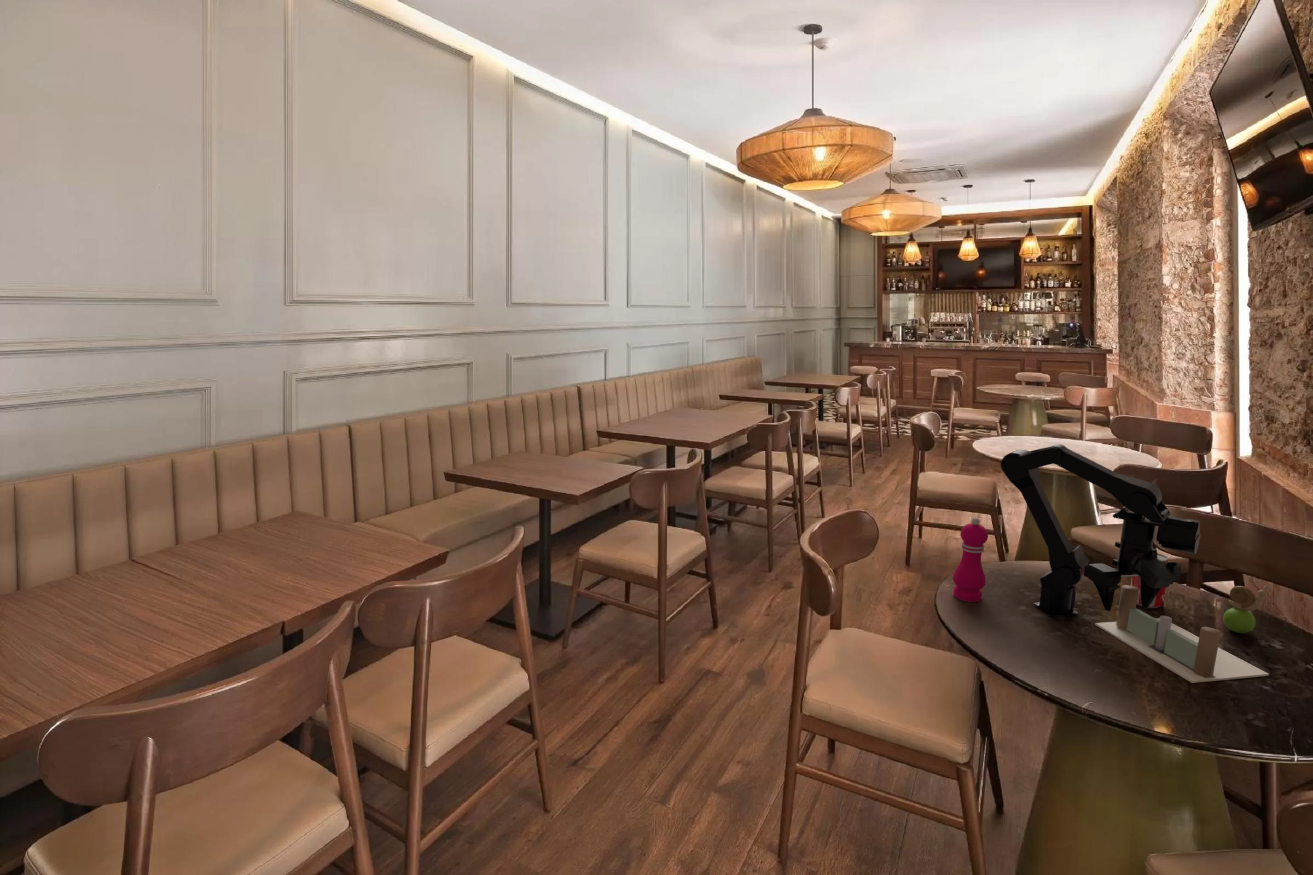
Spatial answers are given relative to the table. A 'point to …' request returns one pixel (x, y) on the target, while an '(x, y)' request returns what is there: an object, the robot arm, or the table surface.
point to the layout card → (1223, 670)
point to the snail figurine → (1242, 609)
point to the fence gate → (1135, 616)
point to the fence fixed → (1189, 647)
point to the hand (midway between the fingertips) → (1126, 609)
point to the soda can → (1160, 596)
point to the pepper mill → (971, 563)
